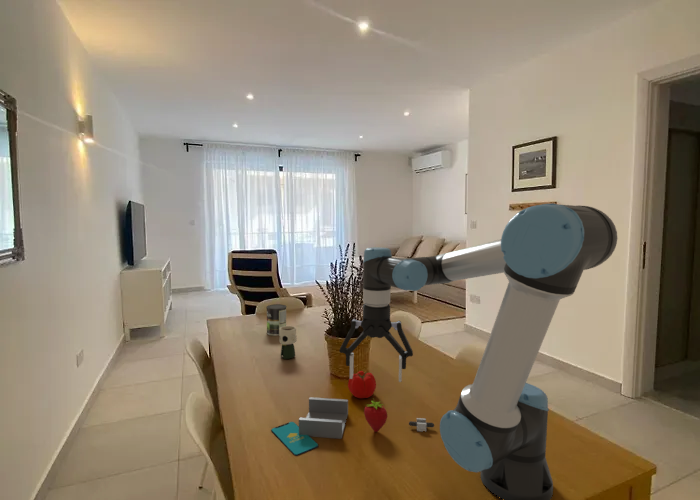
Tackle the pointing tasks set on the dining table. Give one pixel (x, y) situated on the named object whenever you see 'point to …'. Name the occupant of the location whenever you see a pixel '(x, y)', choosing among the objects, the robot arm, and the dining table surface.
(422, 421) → the block with rod
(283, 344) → the character mug
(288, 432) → the smartphone
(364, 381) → the tomato
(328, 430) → the end holder
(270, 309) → the coffee can
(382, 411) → the strawberry
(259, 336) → the dining table surface
